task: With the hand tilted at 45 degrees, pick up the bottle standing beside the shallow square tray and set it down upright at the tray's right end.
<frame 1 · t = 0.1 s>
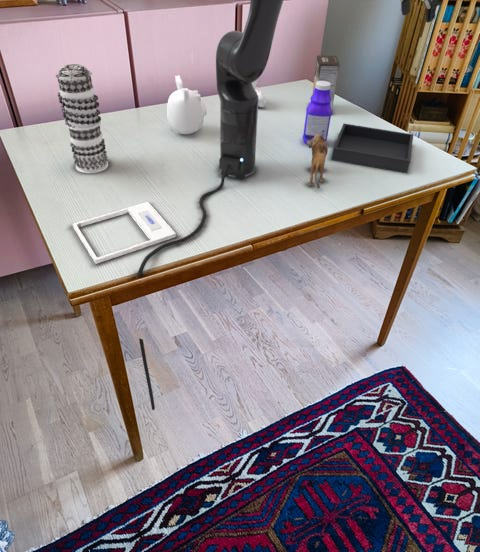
hand: (417, 17, 126), 31 cm above the table, tool tilted 20°, fingers open, 8 cm apart
bust: (252, 105, 158), on the table
shallow square tray: (371, 152, 134), on the table
piggy bank: (187, 132, 141), on the table
decorative candle: (92, 166, 123), on the table
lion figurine: (314, 175, 123), on the table
coffee box: (320, 110, 157), on the table
bottle: (314, 143, 138), on the table
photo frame: (124, 232, 102), on the table
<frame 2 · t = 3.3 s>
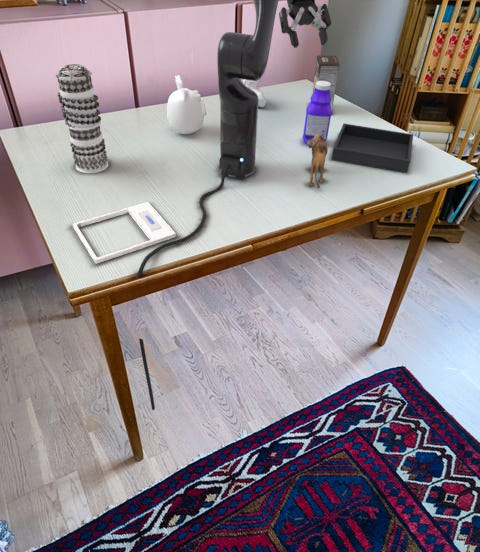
hand: (310, 45, 129), 24 cm above the table, tool tilted 40°, fingers open, 8 cm apart
nothing on the table moved.
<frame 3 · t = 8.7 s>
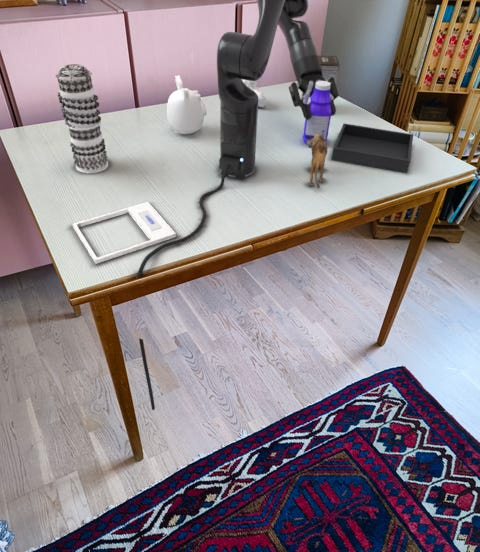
hand: (321, 116, 131), 9 cm above the table, tool tilted 45°, fingers closed on bottle, 7 cm apart
bottle: (314, 143, 138), on the table, touching gripper
everything else where it was.
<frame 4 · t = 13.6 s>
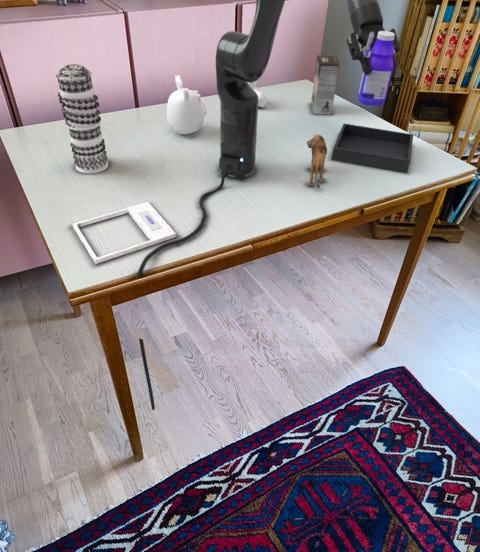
hand: (381, 72, 119), 22 cm above the table, tool tilted 45°, fingers closed on bottle, 7 cm apart
bottle: (370, 103, 126), point 14 cm above the table, touching gripper
everything else where it was.
when the fingers open (9 cm above the table, at t = 18.9 s): bottle stays where it is, resting on shallow square tray.
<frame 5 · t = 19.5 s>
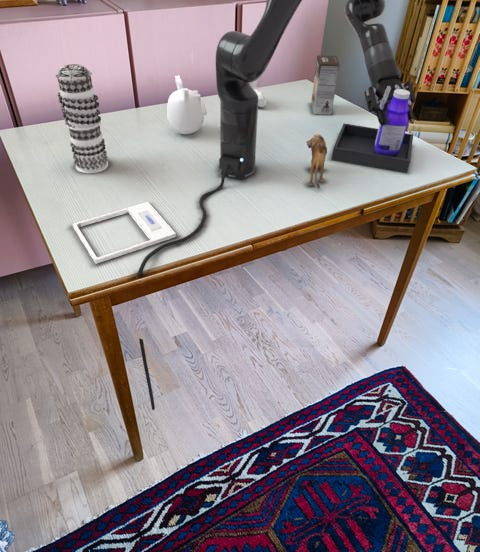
hand: (397, 122, 125), 10 cm above the table, tool tilted 45°, fingers open, 8 cm apart
bottle: (385, 153, 133), resting on shallow square tray
everything else where it was.
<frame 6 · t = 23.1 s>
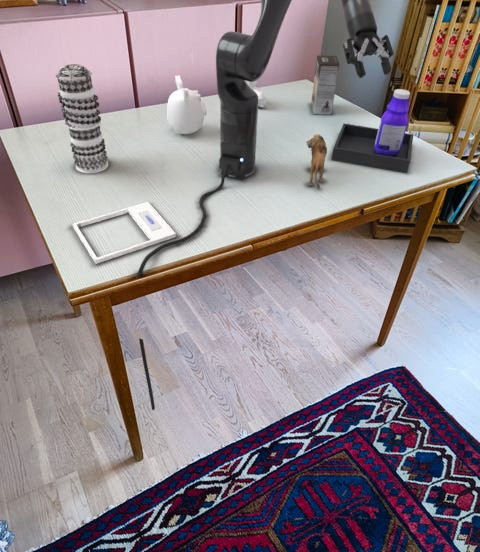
hand: (375, 74, 128), 19 cm above the table, tool tilted 45°, fingers open, 8 cm apart
nothing on the table moved.
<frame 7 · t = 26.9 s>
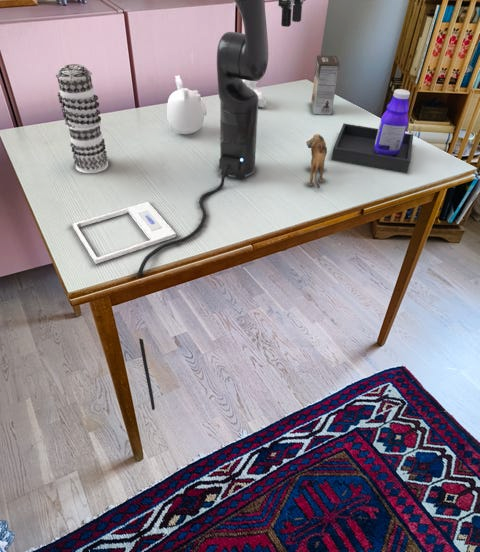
hand: (291, 23, 117), 32 cm above the table, tool pointing down, fingers open, 8 cm apart
nothing on the table moved.
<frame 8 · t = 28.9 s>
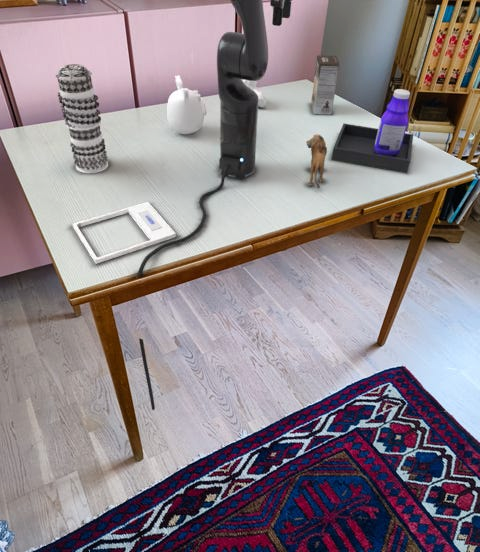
hand: (281, 21, 116), 32 cm above the table, tool pointing down, fingers open, 8 cm apart
nothing on the table moved.
at the end: bottle inside the target area in the shallow square tray (1.1 cm from its centre), point 0.4 cm above the shallow square tray's base; bottle tilted 0°; the gripper is holding nothing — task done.
